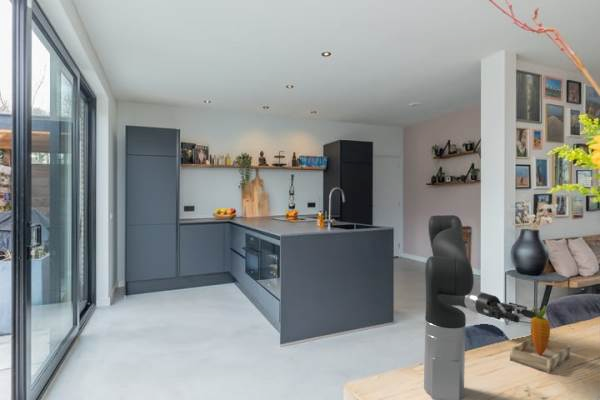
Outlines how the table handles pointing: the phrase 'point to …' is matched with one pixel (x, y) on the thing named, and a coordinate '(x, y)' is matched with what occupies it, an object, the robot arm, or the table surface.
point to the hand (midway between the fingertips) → (527, 317)
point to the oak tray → (546, 361)
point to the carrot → (540, 331)
